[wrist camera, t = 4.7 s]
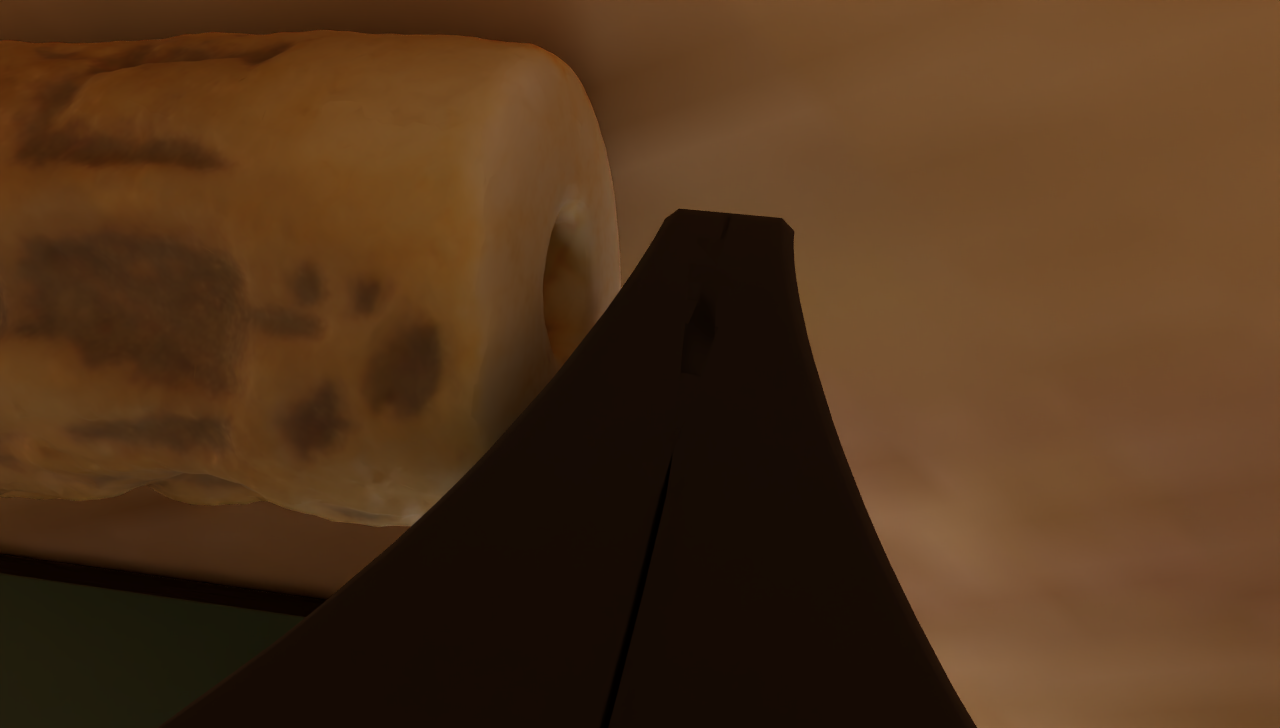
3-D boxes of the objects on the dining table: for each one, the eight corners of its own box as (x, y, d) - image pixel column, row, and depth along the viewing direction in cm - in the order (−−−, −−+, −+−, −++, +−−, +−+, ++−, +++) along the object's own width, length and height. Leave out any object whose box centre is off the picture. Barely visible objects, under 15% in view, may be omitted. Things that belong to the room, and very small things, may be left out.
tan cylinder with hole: (-18, 313, 14) (-252, 593, 11) (-253, -15, 11) (-655, 251, 8) (654, 315, 12) (577, 648, 9) (583, -77, 9) (441, 235, 6)
